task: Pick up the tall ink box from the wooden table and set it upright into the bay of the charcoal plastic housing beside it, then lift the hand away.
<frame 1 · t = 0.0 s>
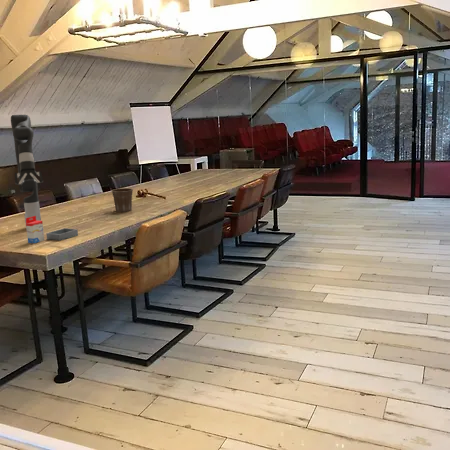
hand: (30, 190, 266), 31 cm above the table, tool tilted 20°, fingers open, 8 cm apart
plant pot: (123, 210, 375), on the table
ink box: (36, 242, 285), on the table
housing: (62, 237, 293), on the table
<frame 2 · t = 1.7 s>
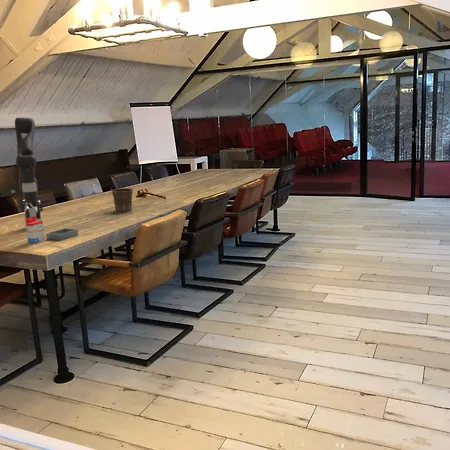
hand: (33, 218, 282), 14 cm above the table, tool pointing down, fingers open, 8 cm apart
nothing on the table moved.
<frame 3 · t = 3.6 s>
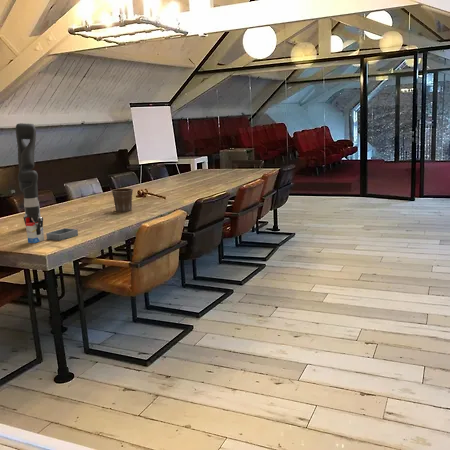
hand: (35, 234, 284), 4 cm above the table, tool pointing down, fingers closed on ink box, 5 cm apart
ink box: (36, 241, 285), on the table, touching gripper
everything else where it was.
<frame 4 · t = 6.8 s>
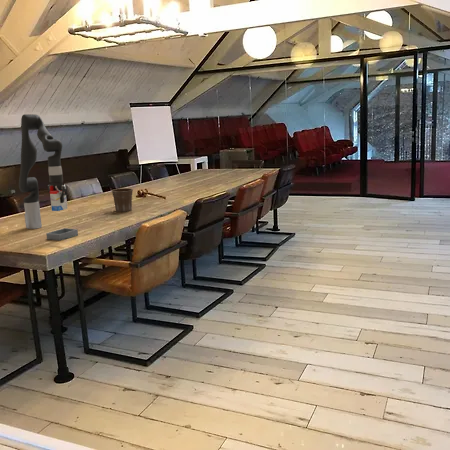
hand: (58, 202, 289), 21 cm above the table, tool pointing down, fingers closed on ink box, 5 cm apart
ink box: (59, 210, 290), point 16 cm above the table, touching gripper
everything else where it was.
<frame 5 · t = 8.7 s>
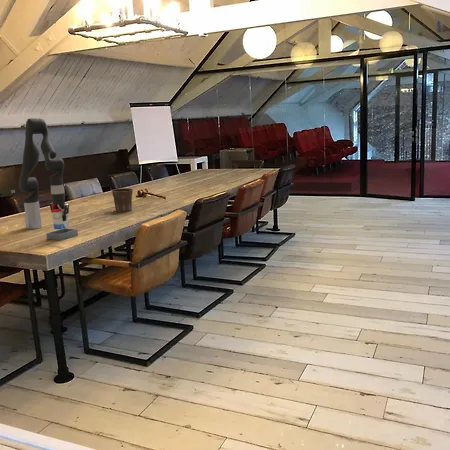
hand: (60, 220, 291), 10 cm above the table, tool pointing down, fingers closed on ink box, 5 cm apart
ink box: (62, 228, 293), point 5 cm above the table, touching gripper
everything else where it was.
when the fingers open (7 cm above the table, at t = 10.3 s): ink box drops 2 cm, resting on housing.
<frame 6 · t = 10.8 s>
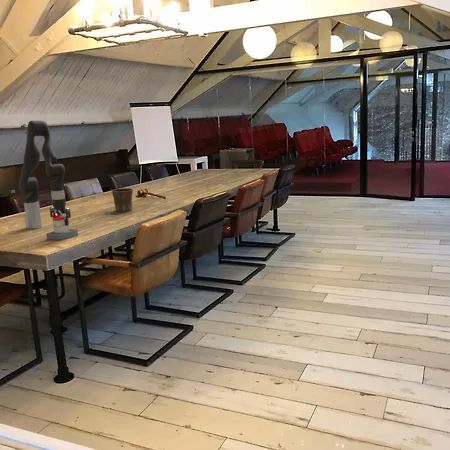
hand: (61, 224, 292), 8 cm above the table, tool pointing down, fingers open, 8 cm apart
ink box: (62, 236, 294), resting on housing
everything else where it was.
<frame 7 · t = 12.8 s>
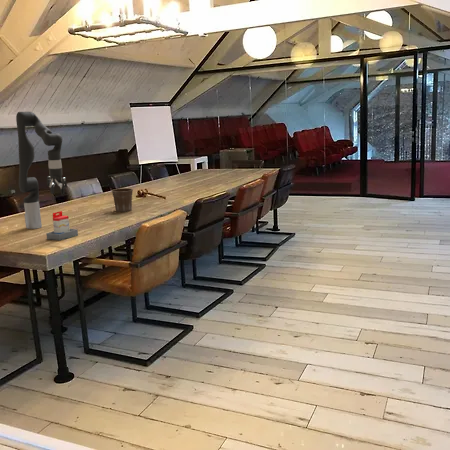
hand: (57, 194, 296), 25 cm above the table, tool pointing down, fingers open, 8 cm apart
nothing on the table moved.
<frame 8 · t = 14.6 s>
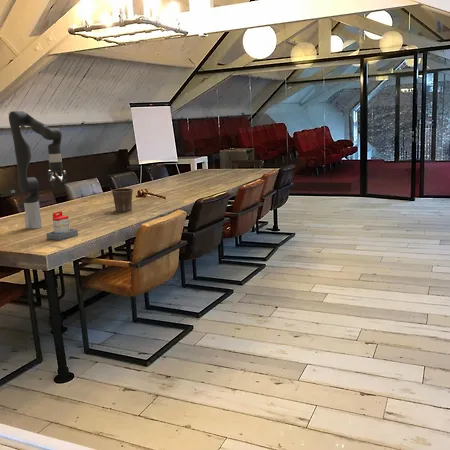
hand: (58, 187, 303), 28 cm above the table, tool pointing down, fingers open, 8 cm apart
nothing on the table moved.
at the end: ink box 0.4 cm off-centre on the housing, point 0.4 cm above the housing's base; ink box tilted 0°; the gripper is holding nothing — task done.
